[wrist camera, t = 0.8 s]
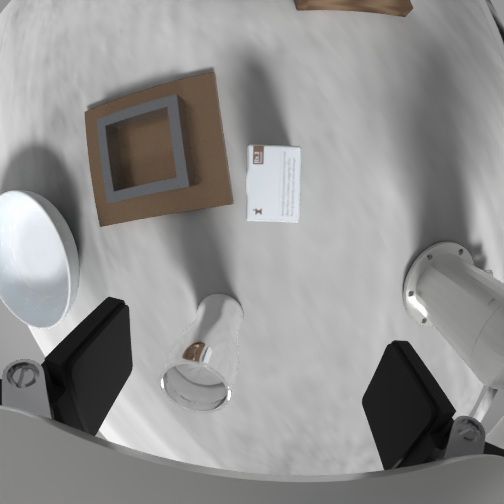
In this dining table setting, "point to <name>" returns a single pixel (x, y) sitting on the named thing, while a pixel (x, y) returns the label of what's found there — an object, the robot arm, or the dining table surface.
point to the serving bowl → (36, 259)
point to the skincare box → (273, 183)
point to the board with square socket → (158, 152)
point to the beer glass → (205, 357)
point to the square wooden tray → (358, 6)
